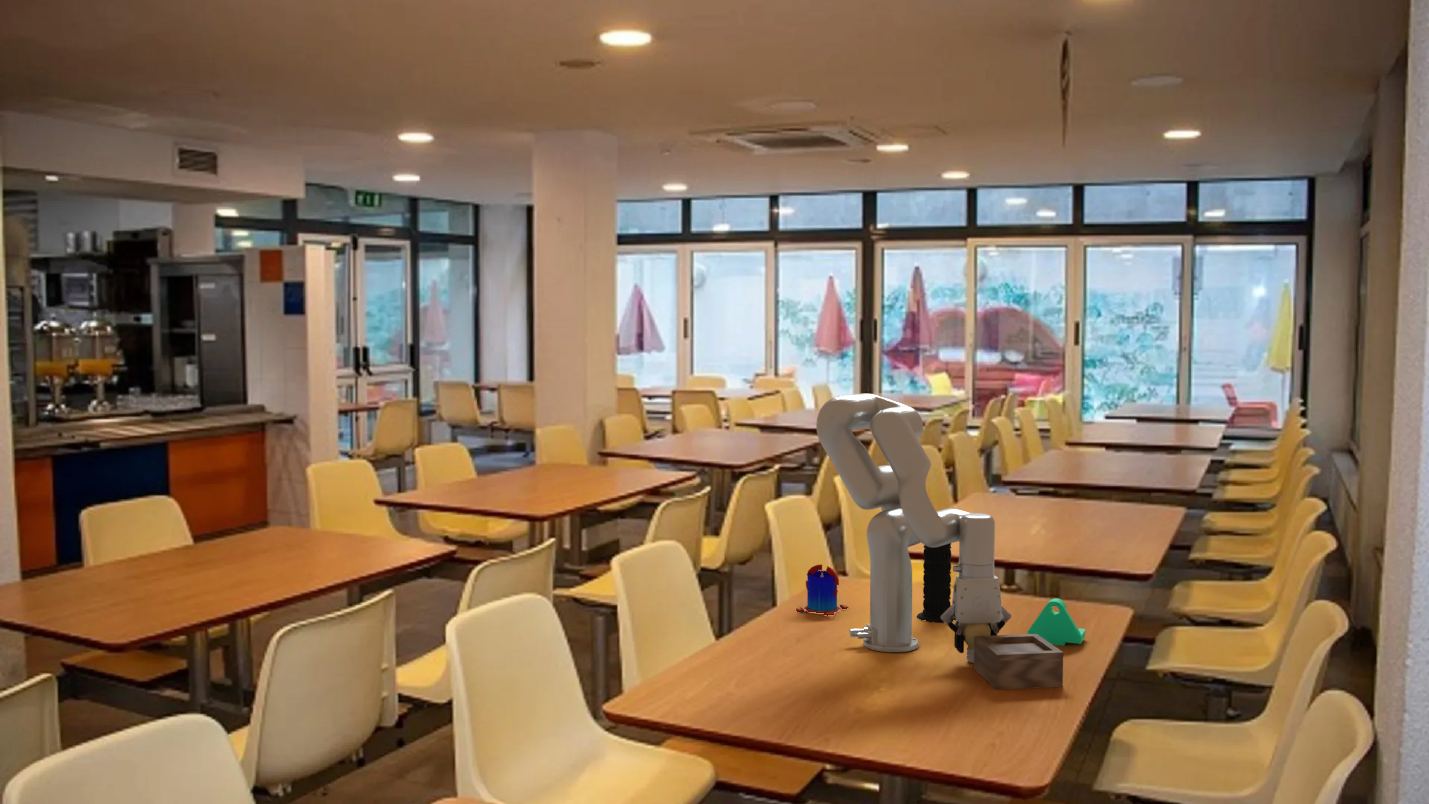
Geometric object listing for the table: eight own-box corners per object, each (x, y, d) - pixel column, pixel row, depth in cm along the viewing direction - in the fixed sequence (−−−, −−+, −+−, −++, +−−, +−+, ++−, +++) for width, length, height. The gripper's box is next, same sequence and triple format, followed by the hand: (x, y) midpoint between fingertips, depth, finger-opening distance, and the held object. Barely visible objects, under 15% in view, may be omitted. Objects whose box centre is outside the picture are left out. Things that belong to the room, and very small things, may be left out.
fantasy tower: (852, 608, 310) (852, 562, 310) (832, 618, 300) (832, 571, 300) (812, 602, 317) (812, 558, 316) (791, 612, 307) (791, 566, 306)
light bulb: (990, 667, 259) (991, 621, 258) (960, 665, 260) (961, 620, 259) (989, 658, 265) (990, 614, 264) (960, 657, 266) (961, 613, 265)
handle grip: (941, 611, 307) (908, 615, 303) (942, 509, 305) (909, 512, 301) (965, 620, 298) (931, 624, 294) (966, 515, 296) (932, 518, 292)
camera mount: (1085, 640, 280) (1086, 596, 280) (1080, 648, 273) (1081, 604, 273) (1033, 634, 285) (1034, 591, 285) (1027, 642, 279) (1028, 598, 278)
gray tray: (996, 689, 243) (997, 654, 243) (974, 669, 257) (974, 636, 257) (1062, 686, 245) (1063, 652, 244) (1036, 666, 259) (1037, 634, 258)
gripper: (943, 575, 256) (942, 657, 257) (1021, 572, 258) (1019, 654, 259) (932, 567, 264) (932, 647, 265) (1008, 565, 266) (1007, 644, 267)
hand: (975, 650), depth 262 cm, fingers closed on light bulb, 6 cm apart
